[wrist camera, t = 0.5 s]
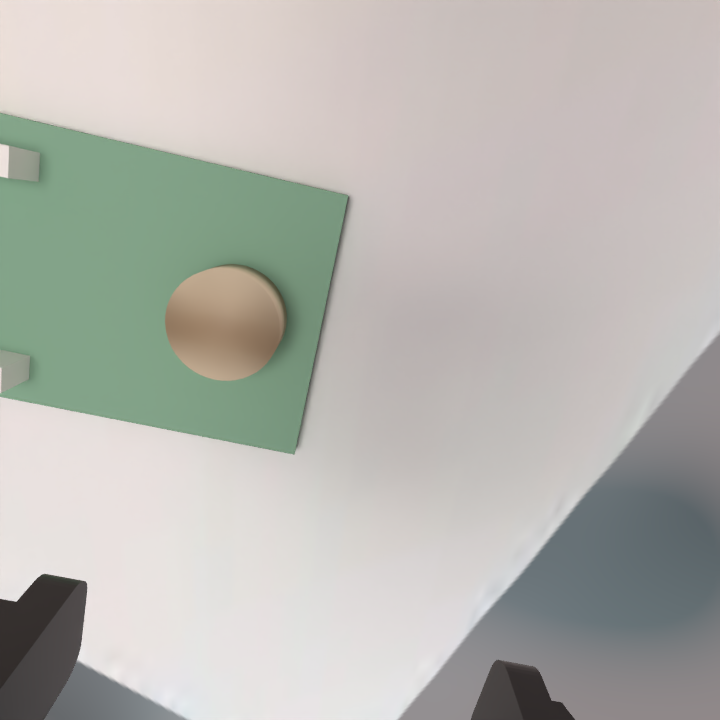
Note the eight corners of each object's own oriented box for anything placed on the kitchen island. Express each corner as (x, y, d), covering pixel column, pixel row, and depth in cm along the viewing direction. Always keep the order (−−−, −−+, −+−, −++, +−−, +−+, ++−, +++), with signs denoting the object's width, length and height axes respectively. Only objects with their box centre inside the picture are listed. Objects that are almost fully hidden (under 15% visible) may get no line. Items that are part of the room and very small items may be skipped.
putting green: (-131, 82, 27) (-149, 77, 26) (348, 196, 28) (348, 195, 27) (-121, 365, 31) (-136, 370, 30) (296, 447, 33) (294, 454, 32)
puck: (191, 253, 28) (172, 257, 25) (295, 276, 29) (289, 283, 26) (177, 353, 30) (158, 368, 27) (277, 374, 30) (268, 390, 27)
